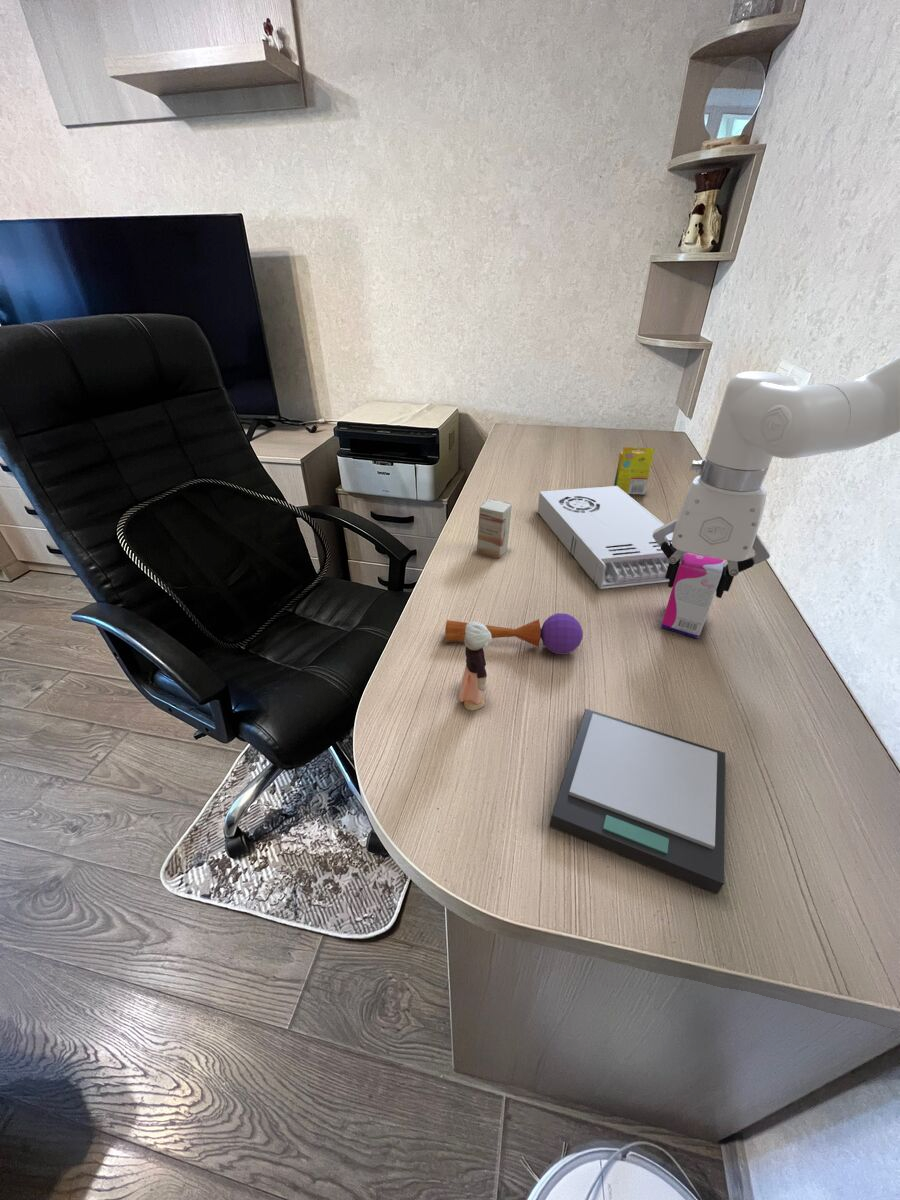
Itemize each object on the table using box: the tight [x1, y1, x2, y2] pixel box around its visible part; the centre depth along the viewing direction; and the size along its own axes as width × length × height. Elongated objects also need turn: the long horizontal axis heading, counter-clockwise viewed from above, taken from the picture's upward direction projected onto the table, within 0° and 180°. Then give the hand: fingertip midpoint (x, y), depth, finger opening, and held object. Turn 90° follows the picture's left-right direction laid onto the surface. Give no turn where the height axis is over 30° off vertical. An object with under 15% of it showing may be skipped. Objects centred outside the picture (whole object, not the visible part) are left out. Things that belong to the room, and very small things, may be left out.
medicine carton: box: [476, 498, 513, 560], centre depth 97 cm, size 5×4×10 cm
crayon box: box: [613, 446, 655, 496], centre depth 122 cm, size 7×3×12 cm, turn 84°
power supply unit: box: [537, 485, 686, 590], centre depth 102 cm, size 19×33×5 cm, turn 11°
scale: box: [549, 708, 726, 895], centre depth 54 cm, size 16×16×3 cm
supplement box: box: [660, 552, 726, 639], centre depth 77 cm, size 6×6×12 cm
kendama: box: [444, 612, 584, 655], centre depth 74 cm, size 6×6×20 cm
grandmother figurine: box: [458, 620, 493, 712], centre depth 63 cm, size 8×4×13 cm, turn 21°
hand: (694, 587), depth 76 cm, fingers closed on supplement box, 6 cm apart
